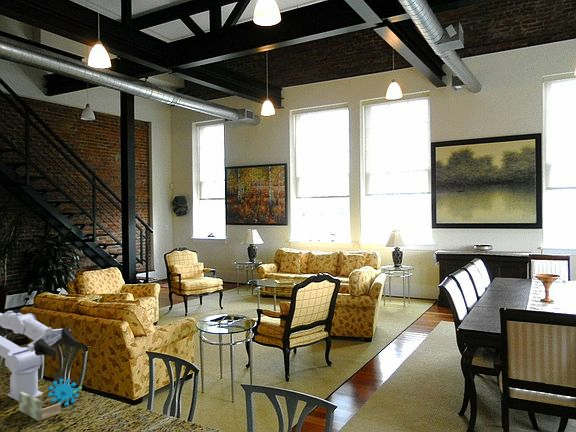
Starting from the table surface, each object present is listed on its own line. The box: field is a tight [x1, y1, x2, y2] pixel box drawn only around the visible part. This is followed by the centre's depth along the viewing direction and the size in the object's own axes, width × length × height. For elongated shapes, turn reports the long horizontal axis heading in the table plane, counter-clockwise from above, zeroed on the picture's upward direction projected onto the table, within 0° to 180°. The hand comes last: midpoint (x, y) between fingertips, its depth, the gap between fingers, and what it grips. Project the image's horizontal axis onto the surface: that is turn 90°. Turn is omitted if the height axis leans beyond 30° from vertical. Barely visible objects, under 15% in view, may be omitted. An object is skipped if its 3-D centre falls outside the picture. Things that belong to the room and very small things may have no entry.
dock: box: [18, 392, 62, 422], centre depth 149 cm, size 13×7×6 cm, turn 54°
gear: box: [47, 378, 83, 407], centre depth 157 cm, size 11×6×10 cm
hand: (65, 348), depth 152 cm, fingers open, 7 cm apart
